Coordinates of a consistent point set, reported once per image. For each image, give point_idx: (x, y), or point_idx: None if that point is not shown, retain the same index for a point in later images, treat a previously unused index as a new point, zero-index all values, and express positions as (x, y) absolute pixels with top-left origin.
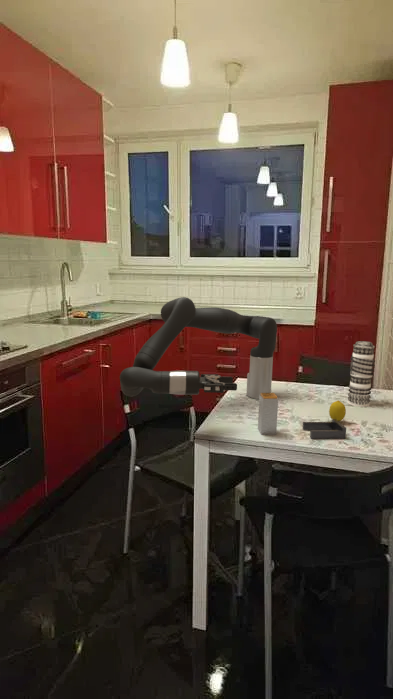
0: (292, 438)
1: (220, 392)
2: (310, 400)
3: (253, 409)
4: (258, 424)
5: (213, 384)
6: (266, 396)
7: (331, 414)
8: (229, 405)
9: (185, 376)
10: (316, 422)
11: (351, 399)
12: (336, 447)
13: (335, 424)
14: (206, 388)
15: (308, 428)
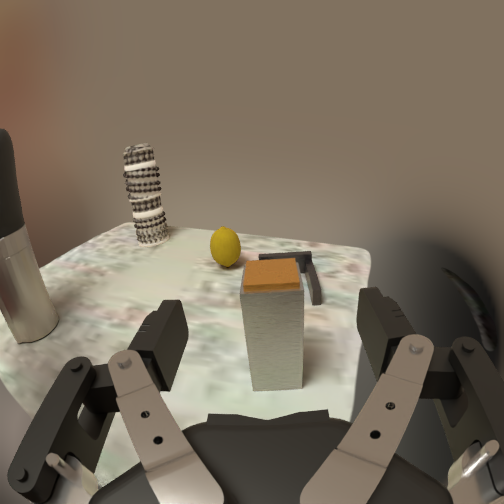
0: (322, 330)
1: (462, 396)
2: (108, 274)
3: (95, 363)
4: (259, 379)
5: (501, 403)
6: (296, 276)
7: (229, 256)
8: (40, 400)
9: None
10: None
11: (150, 238)
12: (356, 282)
13: None
14: None
15: None
